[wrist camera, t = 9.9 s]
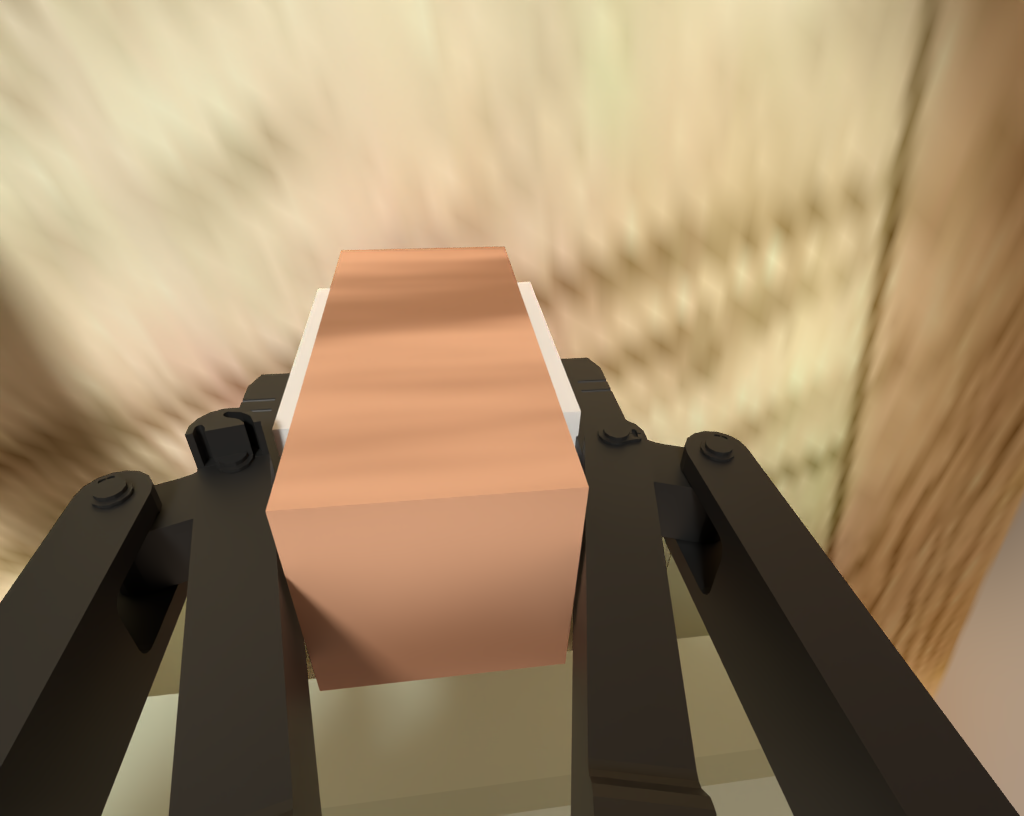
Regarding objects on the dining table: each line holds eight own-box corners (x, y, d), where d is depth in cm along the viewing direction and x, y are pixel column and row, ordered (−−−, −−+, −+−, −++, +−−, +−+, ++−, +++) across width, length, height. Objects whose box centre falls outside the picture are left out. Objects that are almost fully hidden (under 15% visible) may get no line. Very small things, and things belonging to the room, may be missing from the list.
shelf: (127, 570, 23) (-33, 890, 15) (721, 520, 26) (862, 763, 18) (198, 702, 29) (111, 986, 21) (679, 648, 32) (771, 877, 24)
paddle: (341, 250, 16) (265, 511, 8) (504, 246, 17) (588, 487, 9) (406, 694, 29) (402, 965, 21) (496, 683, 30) (527, 944, 21)
